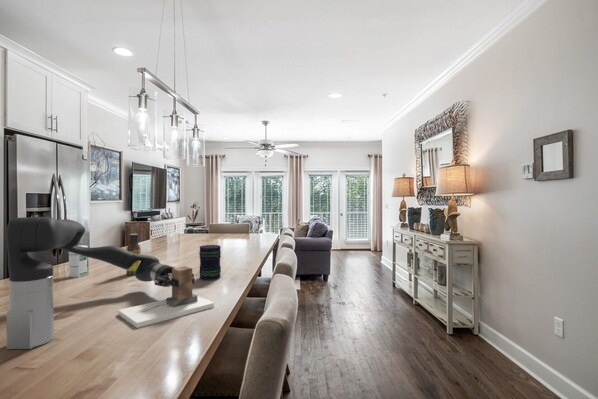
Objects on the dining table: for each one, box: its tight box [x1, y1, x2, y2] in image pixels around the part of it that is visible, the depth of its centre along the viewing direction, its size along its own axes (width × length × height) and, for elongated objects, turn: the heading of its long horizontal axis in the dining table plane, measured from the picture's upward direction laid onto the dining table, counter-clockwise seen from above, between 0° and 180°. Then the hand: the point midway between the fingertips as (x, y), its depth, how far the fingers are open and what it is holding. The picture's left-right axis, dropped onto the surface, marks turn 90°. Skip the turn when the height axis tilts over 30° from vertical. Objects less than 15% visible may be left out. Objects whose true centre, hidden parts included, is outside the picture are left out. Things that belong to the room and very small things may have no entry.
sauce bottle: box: [125, 233, 141, 276], centre depth 168 cm, size 6×6×20 cm
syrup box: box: [68, 244, 90, 278], centre depth 164 cm, size 6×6×14 cm
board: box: [117, 295, 215, 329], centre depth 114 cm, size 26×16×2 cm, turn 136°
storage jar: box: [198, 244, 222, 281], centre depth 160 cm, size 10×10×15 cm
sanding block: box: [166, 266, 198, 307], centre depth 118 cm, size 9×5×12 cm, turn 136°
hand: (185, 282), depth 116 cm, fingers closed on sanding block, 5 cm apart
